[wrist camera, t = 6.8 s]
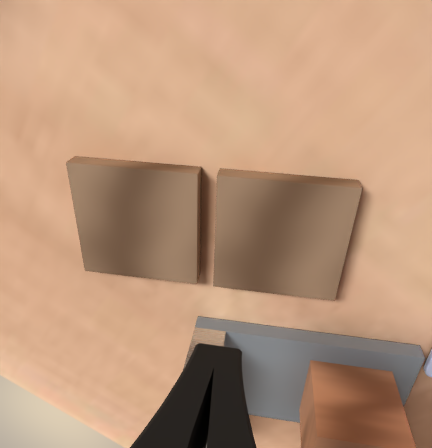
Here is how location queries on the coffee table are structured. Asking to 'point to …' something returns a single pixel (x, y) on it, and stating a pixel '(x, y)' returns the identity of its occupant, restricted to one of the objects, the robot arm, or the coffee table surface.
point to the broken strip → (224, 228)
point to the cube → (352, 409)
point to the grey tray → (300, 361)
